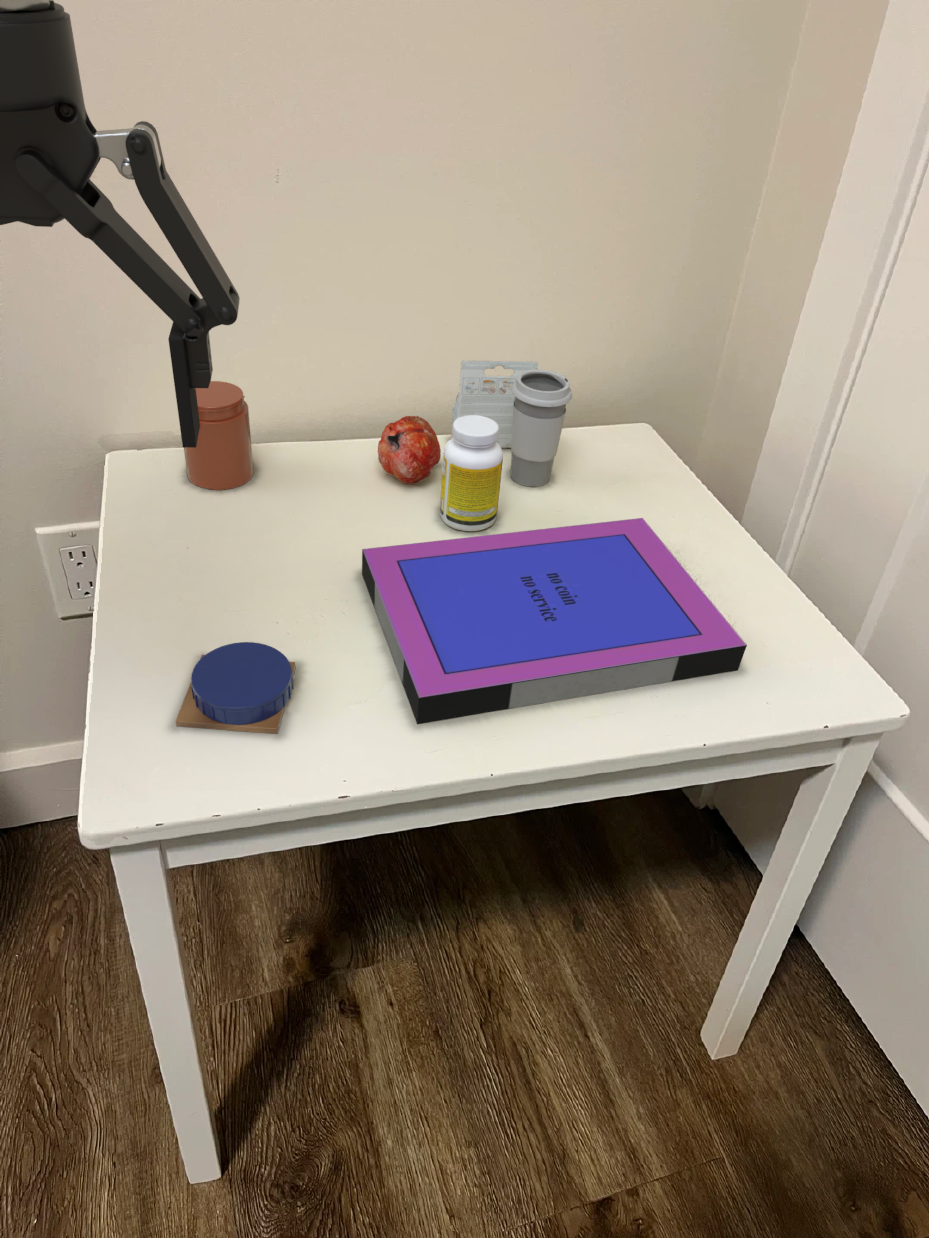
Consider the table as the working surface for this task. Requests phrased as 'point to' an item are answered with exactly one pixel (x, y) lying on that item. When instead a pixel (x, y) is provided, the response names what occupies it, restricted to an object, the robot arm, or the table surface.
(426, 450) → the pomegranate
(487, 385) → the ink box
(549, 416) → the cup
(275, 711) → the lid
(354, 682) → the table surface
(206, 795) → the table surface
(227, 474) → the jar
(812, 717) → the table surface
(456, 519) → the pill bottle
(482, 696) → the book
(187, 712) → the cork mat
